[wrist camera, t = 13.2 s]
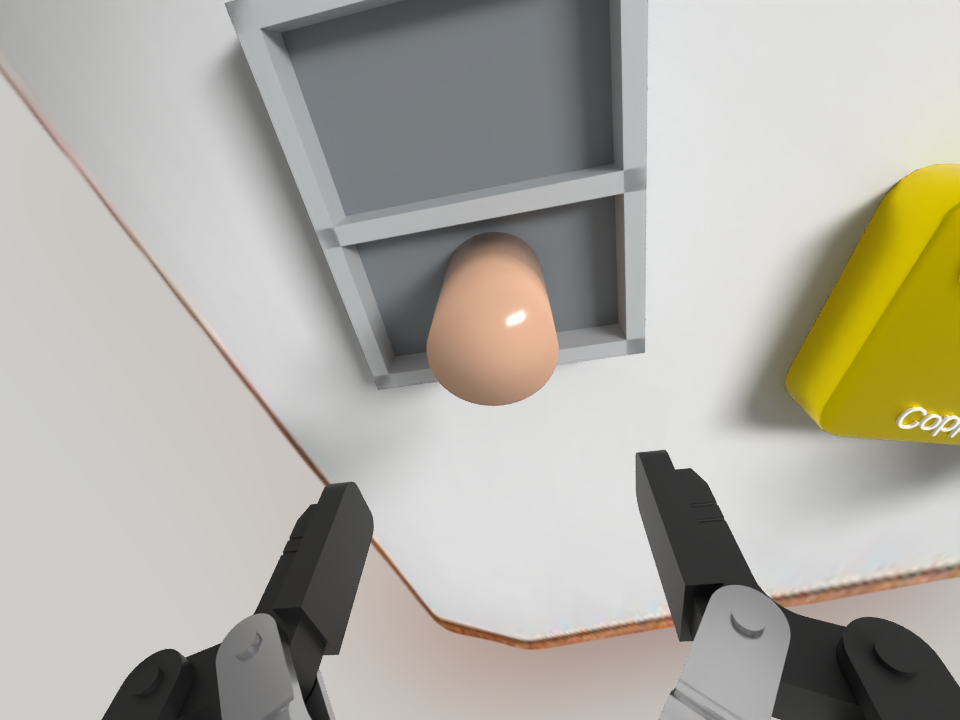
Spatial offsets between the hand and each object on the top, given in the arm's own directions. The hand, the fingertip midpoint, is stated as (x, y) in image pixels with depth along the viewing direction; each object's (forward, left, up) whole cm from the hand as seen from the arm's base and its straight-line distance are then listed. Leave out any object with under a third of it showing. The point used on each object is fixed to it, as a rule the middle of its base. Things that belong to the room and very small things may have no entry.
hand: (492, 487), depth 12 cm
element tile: (-26, +7, -17) cm, 32 cm away
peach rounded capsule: (0, 0, -15) cm, 15 cm away
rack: (0, -5, -16) cm, 17 cm away
